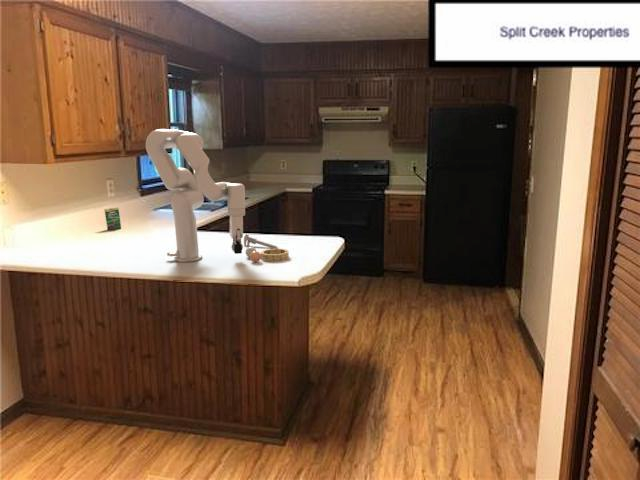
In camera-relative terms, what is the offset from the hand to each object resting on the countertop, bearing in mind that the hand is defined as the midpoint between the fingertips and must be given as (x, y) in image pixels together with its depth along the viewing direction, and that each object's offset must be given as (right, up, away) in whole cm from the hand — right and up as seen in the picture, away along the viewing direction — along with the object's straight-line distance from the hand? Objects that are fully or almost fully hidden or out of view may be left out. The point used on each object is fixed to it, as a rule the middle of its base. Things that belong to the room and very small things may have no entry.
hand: (237, 251), depth 231 cm
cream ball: (+5, 0, +7) cm, 9 cm away
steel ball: (0, +2, 0) cm, 2 cm away
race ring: (+16, -3, +5) cm, 18 cm away
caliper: (+7, +1, +29) cm, 30 cm away
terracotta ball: (+8, -2, -1) cm, 9 cm away
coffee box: (-90, +12, +87) cm, 126 cm away
